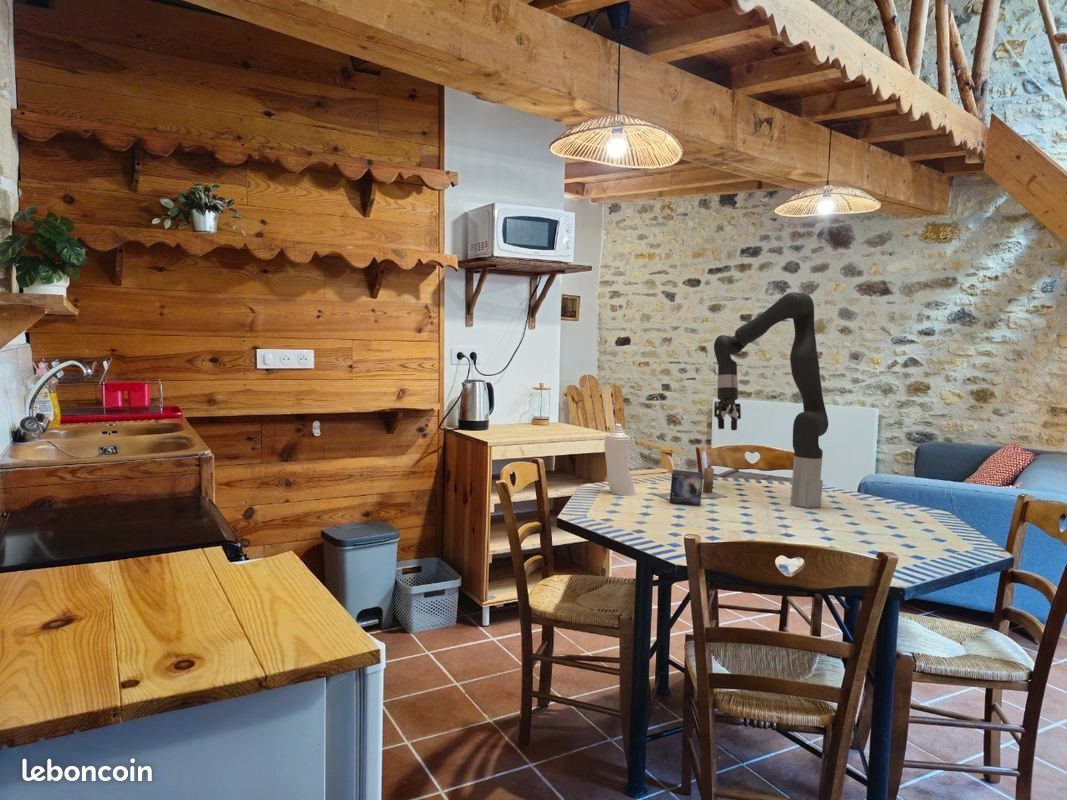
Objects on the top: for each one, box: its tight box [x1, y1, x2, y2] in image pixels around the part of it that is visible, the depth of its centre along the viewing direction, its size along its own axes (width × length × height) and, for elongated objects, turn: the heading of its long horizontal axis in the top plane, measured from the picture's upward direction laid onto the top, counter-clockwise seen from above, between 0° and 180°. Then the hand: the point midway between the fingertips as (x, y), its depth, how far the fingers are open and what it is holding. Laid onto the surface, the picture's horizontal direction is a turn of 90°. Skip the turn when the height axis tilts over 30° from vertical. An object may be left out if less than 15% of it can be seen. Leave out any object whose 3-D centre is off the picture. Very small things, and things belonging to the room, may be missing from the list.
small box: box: [669, 469, 704, 507], centre depth 241 cm, size 11×6×10 cm, turn 77°
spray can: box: [603, 423, 637, 497], centre depth 253 cm, size 12×11×25 cm
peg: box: [702, 467, 715, 494], centre depth 258 cm, size 3×3×9 cm
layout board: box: [653, 490, 728, 502], centre depth 253 cm, size 10×25×1 cm, turn 113°
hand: (727, 429), depth 266 cm, fingers open, 8 cm apart
